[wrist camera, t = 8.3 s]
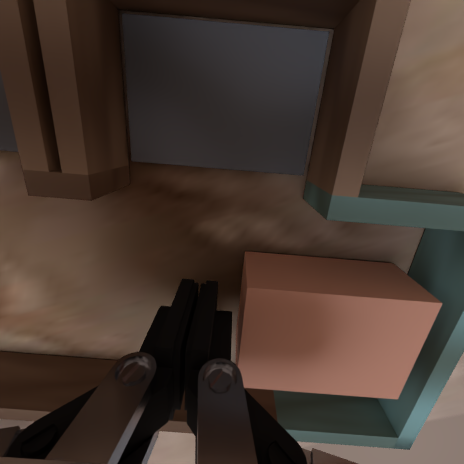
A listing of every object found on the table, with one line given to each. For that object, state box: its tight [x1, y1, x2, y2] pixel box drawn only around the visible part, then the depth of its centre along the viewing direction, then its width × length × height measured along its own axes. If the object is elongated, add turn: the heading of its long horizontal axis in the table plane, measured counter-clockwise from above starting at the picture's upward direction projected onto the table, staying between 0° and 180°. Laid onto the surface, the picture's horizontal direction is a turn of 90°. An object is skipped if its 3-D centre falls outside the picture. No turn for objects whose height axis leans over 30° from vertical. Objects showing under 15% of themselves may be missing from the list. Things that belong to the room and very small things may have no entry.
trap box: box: [0, 0, 464, 449], centre depth 10 cm, size 18×26×3 cm
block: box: [236, 251, 443, 399], centre depth 11 cm, size 5×7×3 cm
